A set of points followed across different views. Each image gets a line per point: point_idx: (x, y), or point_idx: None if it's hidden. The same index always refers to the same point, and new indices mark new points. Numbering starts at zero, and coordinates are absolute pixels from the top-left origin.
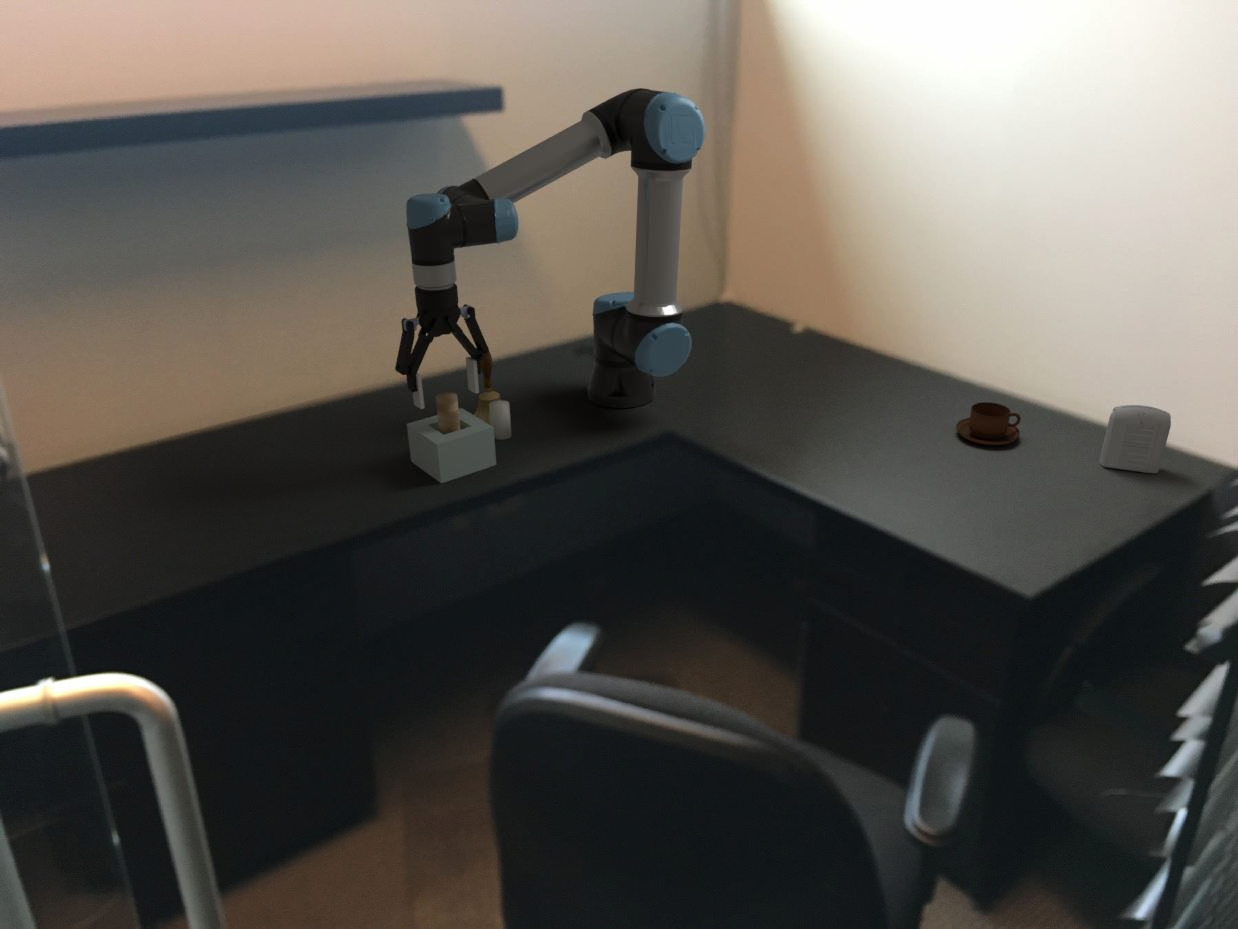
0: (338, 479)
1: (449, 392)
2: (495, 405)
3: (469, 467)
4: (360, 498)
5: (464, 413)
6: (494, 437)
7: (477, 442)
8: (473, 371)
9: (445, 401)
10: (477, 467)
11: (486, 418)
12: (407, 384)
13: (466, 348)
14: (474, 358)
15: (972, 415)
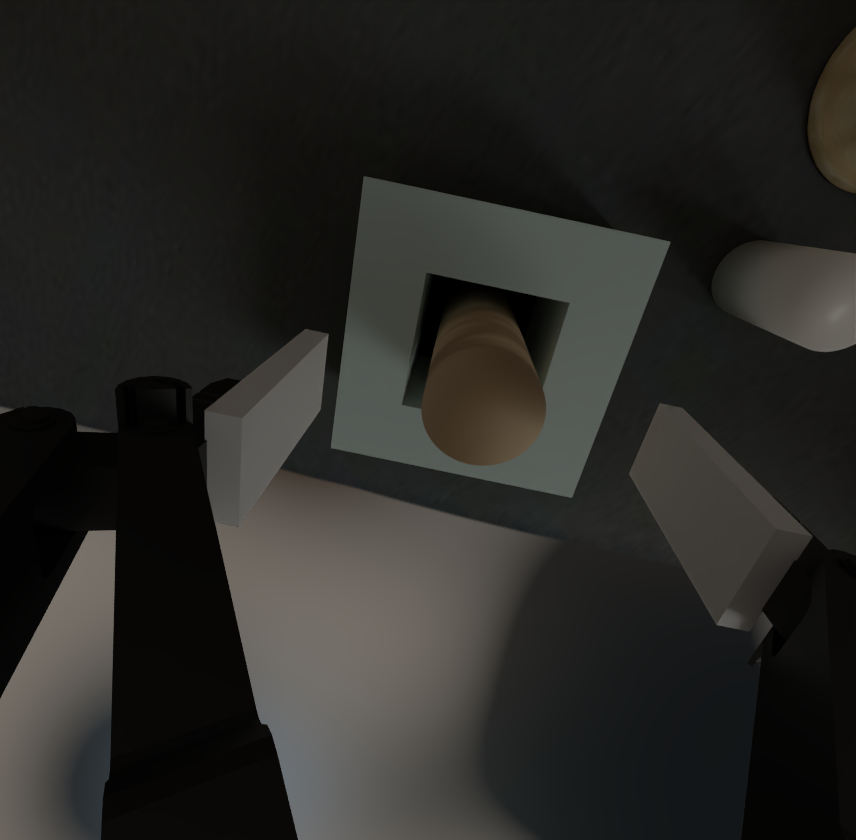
0: (127, 82)
1: (537, 381)
2: (815, 303)
3: None
4: (139, 275)
5: (620, 308)
6: (714, 280)
7: None
8: (681, 558)
9: (439, 445)
10: None
11: (849, 136)
12: (197, 393)
13: (781, 682)
14: (768, 617)
15: None
